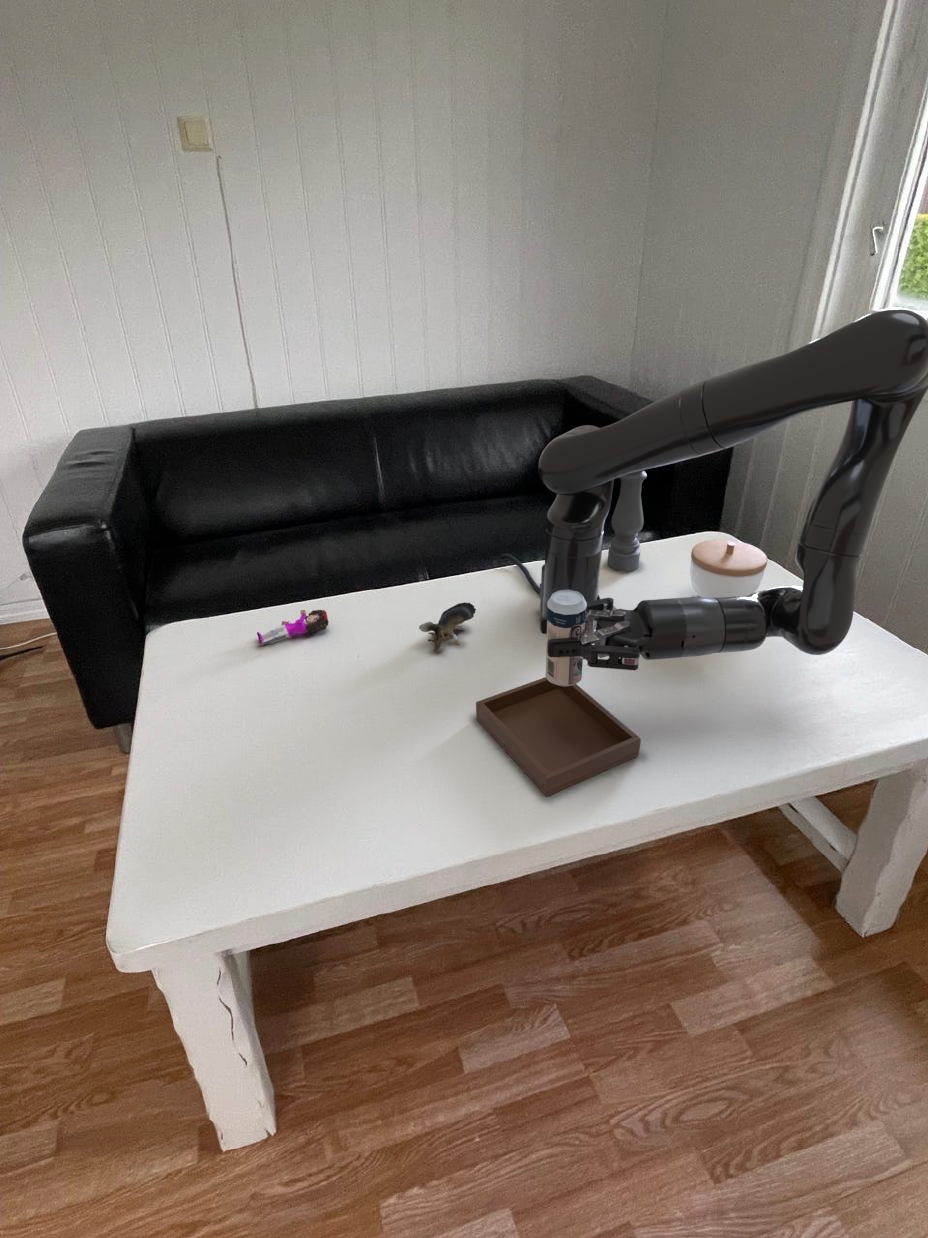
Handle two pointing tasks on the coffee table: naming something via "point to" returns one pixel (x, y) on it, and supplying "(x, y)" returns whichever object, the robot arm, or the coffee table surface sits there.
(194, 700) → the coffee table surface
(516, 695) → the tray
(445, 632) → the brown irregular figure
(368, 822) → the coffee table surface
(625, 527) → the candle holder
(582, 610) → the beer can
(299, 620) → the character figurine
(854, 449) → the robot arm
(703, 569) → the lidded bowl
